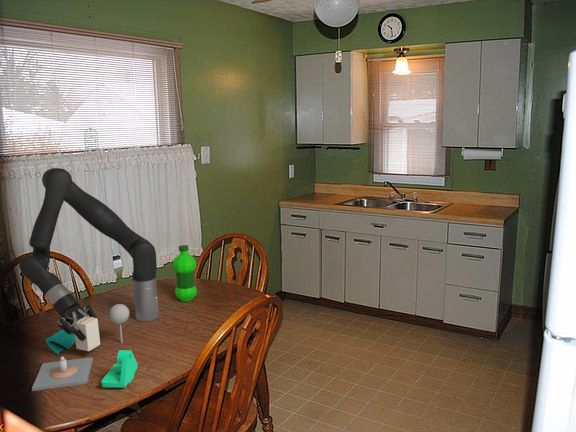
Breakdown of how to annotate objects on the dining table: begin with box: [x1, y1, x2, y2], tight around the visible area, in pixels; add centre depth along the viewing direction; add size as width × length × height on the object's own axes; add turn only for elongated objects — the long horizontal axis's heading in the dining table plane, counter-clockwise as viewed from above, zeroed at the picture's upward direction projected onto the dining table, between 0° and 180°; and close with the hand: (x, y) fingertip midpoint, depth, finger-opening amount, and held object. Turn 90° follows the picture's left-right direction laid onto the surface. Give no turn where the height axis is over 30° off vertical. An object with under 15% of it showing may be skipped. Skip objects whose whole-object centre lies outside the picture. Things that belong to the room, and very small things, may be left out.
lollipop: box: [108, 303, 130, 344], centre depth 187 cm, size 7×7×15 cm
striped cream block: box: [74, 317, 101, 352], centre depth 179 cm, size 6×6×10 cm
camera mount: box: [101, 349, 138, 389], centre depth 162 cm, size 12×8×10 cm, turn 178°
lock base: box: [31, 356, 94, 392], centre depth 166 cm, size 16×16×6 cm
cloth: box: [44, 328, 76, 357], centre depth 192 cm, size 26×14×2 cm, turn 0°
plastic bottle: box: [172, 244, 198, 302], centre depth 227 cm, size 10×10×25 cm
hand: (91, 335), depth 178 cm, fingers closed on striped cream block, 5 cm apart
